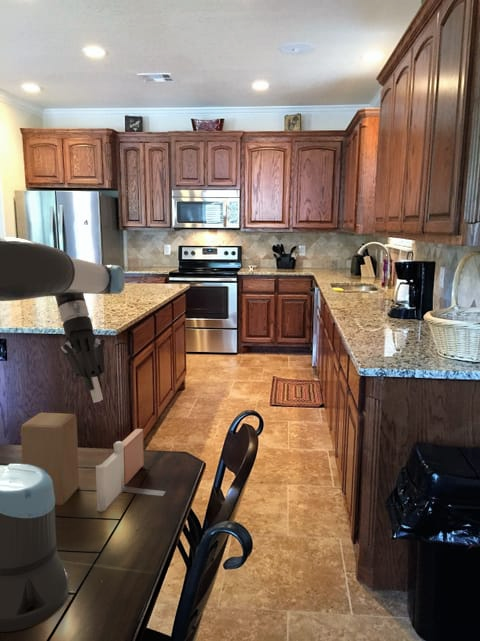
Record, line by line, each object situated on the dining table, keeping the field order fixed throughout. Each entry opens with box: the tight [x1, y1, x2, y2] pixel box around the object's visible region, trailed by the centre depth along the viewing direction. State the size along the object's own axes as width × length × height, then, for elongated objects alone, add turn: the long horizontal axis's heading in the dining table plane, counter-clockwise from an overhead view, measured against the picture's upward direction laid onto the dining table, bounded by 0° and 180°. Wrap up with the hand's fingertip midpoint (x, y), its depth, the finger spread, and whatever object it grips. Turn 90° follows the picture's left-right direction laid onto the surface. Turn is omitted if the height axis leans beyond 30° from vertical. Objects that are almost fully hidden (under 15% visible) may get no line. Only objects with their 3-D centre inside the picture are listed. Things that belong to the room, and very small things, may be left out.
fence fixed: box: [95, 440, 125, 512], centre depth 120 cm, size 12×3×13 cm, turn 169°
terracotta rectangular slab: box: [121, 428, 144, 486], centre depth 132 cm, size 12×2×10 cm, turn 169°
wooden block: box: [20, 412, 80, 506], centre depth 121 cm, size 10×10×20 cm
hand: (98, 401), depth 134 cm, fingers closed
